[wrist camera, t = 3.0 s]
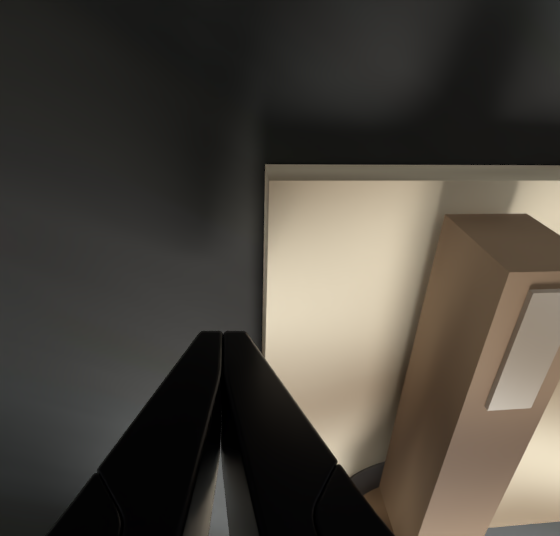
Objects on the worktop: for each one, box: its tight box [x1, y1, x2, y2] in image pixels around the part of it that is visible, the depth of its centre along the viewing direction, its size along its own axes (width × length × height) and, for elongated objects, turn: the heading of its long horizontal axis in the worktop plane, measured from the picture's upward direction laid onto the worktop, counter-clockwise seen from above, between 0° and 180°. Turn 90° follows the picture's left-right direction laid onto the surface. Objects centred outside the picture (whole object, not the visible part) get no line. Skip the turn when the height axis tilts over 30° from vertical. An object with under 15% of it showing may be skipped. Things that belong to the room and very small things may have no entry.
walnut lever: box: [363, 213, 560, 536], centre depth 10 cm, size 11×3×2 cm, turn 178°
